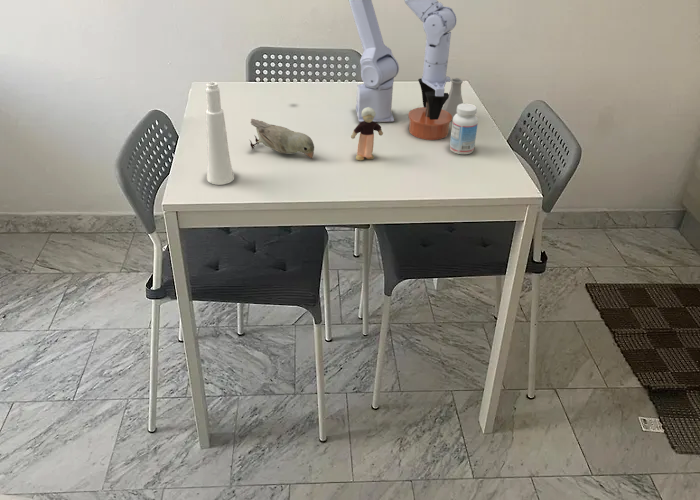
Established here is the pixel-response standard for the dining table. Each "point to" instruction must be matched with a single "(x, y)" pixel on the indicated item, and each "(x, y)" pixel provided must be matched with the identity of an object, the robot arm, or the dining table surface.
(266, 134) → the decorative bird
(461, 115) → the pill bottle
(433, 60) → the robot arm
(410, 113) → the lid
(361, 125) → the grandmother figurine
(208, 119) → the cosmetic bottle
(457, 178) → the dining table surface
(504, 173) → the dining table surface
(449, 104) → the flask
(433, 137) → the bowl
